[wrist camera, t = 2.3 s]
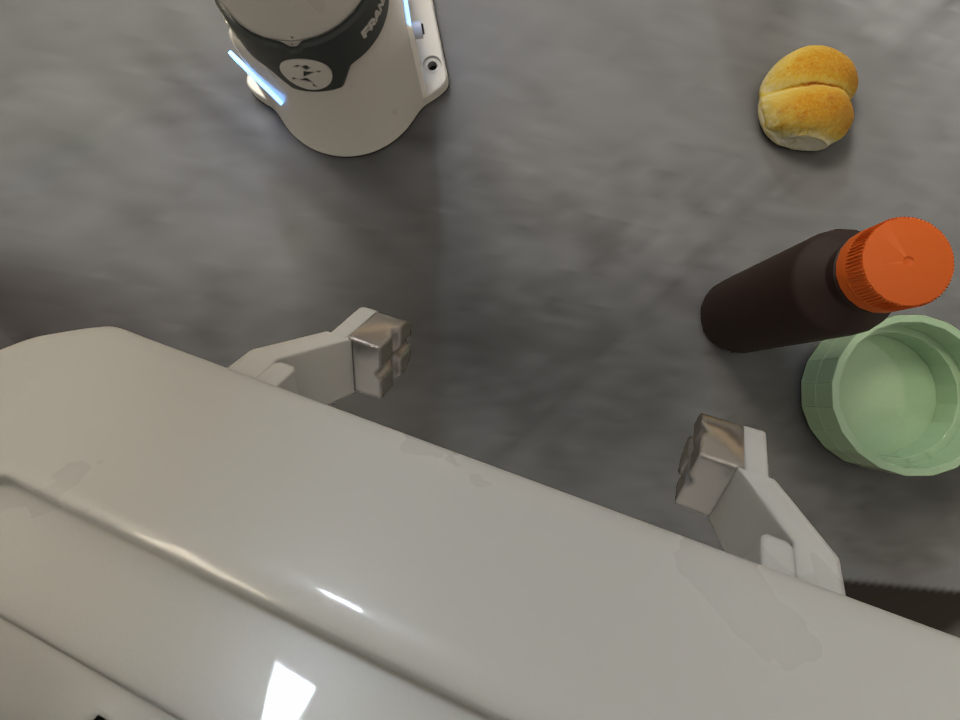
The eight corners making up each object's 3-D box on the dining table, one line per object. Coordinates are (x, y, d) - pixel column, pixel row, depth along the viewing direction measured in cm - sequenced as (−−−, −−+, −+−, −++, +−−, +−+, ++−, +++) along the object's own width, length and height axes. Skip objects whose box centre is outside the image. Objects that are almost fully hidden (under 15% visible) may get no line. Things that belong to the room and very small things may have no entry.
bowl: (794, 323, 48) (829, 315, 43) (939, 322, 48) (992, 314, 43) (799, 467, 47) (836, 475, 42) (947, 467, 47) (1001, 476, 42)
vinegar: (685, 329, 48) (820, 285, 28) (721, 265, 48) (880, 175, 28) (752, 367, 48) (937, 348, 28) (788, 302, 48) (997, 237, 28)
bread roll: (850, 66, 49) (882, 37, 45) (836, 159, 49) (866, 138, 45) (761, 51, 50) (784, 21, 46) (746, 144, 49) (768, 122, 45)
